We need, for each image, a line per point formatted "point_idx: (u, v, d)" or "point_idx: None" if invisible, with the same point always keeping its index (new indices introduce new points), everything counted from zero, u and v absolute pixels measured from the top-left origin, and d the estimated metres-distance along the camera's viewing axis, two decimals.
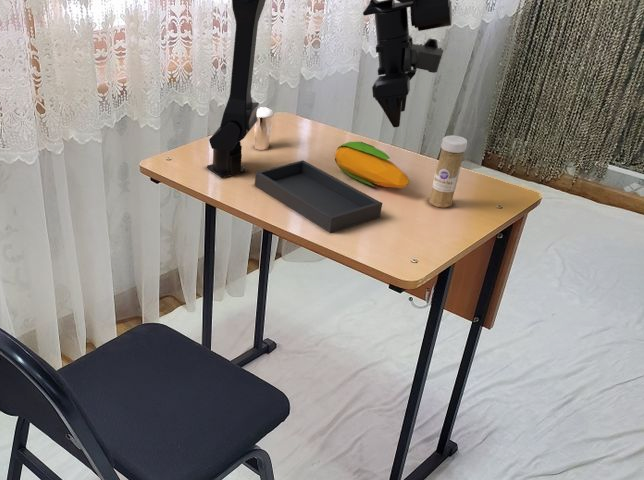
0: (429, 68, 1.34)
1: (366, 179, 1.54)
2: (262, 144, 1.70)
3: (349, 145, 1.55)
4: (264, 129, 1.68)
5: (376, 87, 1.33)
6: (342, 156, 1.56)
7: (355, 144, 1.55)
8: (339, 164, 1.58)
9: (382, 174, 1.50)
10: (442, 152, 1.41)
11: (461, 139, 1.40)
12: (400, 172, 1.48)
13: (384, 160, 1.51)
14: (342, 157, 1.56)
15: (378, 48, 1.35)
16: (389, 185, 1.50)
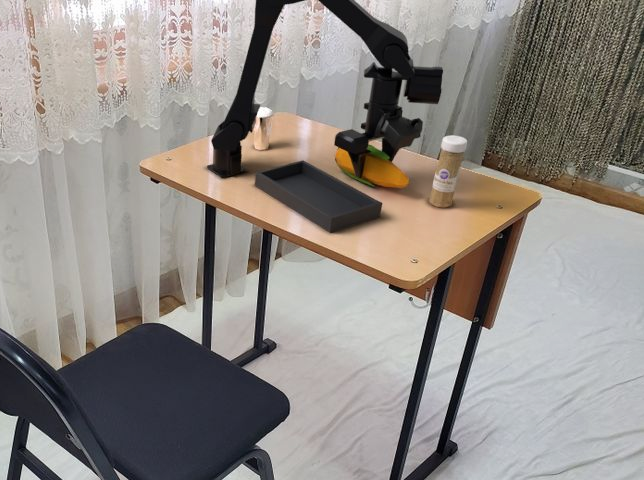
0: (391, 143, 1.44)
1: (366, 179, 1.54)
2: (262, 144, 1.70)
3: None
4: (264, 129, 1.68)
5: (336, 136, 1.48)
6: (342, 156, 1.56)
7: None
8: (339, 164, 1.58)
9: (382, 174, 1.50)
10: (442, 152, 1.41)
11: (461, 139, 1.40)
12: (400, 172, 1.48)
13: (384, 160, 1.51)
14: (342, 157, 1.56)
15: (365, 105, 1.47)
16: (389, 185, 1.50)
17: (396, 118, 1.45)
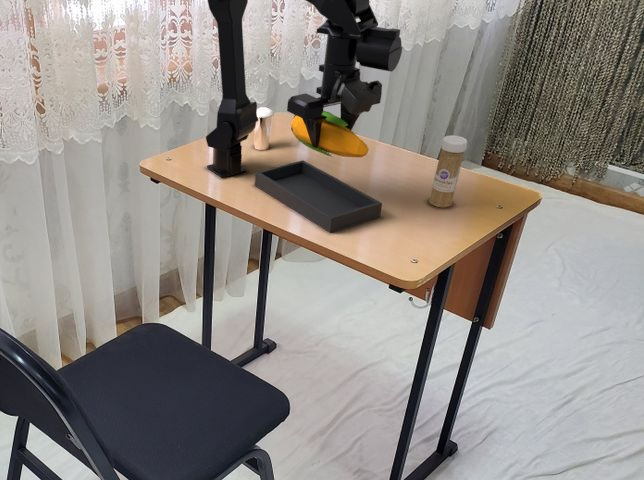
0: (348, 107, 1.33)
1: (323, 149, 1.42)
2: (262, 144, 1.70)
3: None
4: (264, 129, 1.68)
5: (288, 101, 1.36)
6: (298, 125, 1.44)
7: None
8: (295, 133, 1.46)
9: (339, 142, 1.38)
10: (442, 152, 1.41)
11: (461, 139, 1.40)
12: (359, 140, 1.36)
13: (342, 127, 1.39)
14: (298, 125, 1.44)
15: (320, 67, 1.36)
16: (347, 155, 1.38)
17: (353, 81, 1.33)
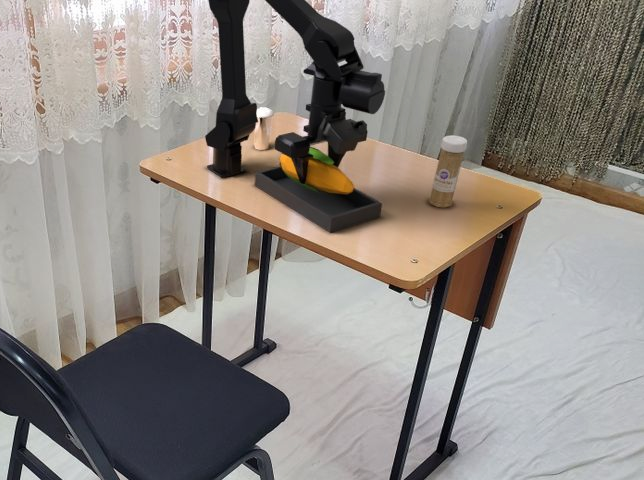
0: (334, 147, 1.36)
1: (311, 185, 1.45)
2: (262, 144, 1.70)
3: None
4: (264, 129, 1.68)
5: (276, 140, 1.39)
6: (286, 161, 1.48)
7: None
8: (284, 169, 1.49)
9: (326, 180, 1.41)
10: (442, 152, 1.41)
11: (461, 139, 1.40)
12: (344, 178, 1.39)
13: (329, 165, 1.42)
14: (286, 161, 1.48)
15: (307, 106, 1.39)
16: (334, 191, 1.42)
17: (339, 120, 1.37)
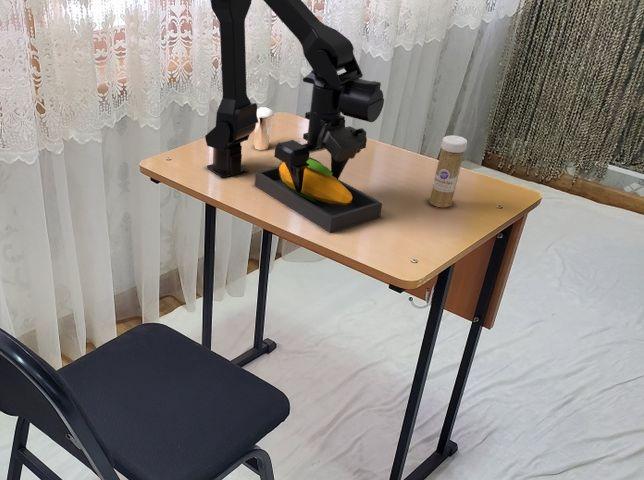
0: (333, 155, 1.37)
1: (309, 195, 1.46)
2: (262, 144, 1.70)
3: None
4: (264, 129, 1.68)
5: (275, 148, 1.40)
6: (285, 171, 1.49)
7: None
8: (283, 179, 1.51)
9: (324, 190, 1.42)
10: (442, 152, 1.41)
11: (461, 139, 1.40)
12: (343, 189, 1.41)
13: (327, 176, 1.43)
14: (285, 172, 1.49)
15: (307, 115, 1.40)
16: (332, 202, 1.43)
17: (338, 128, 1.37)
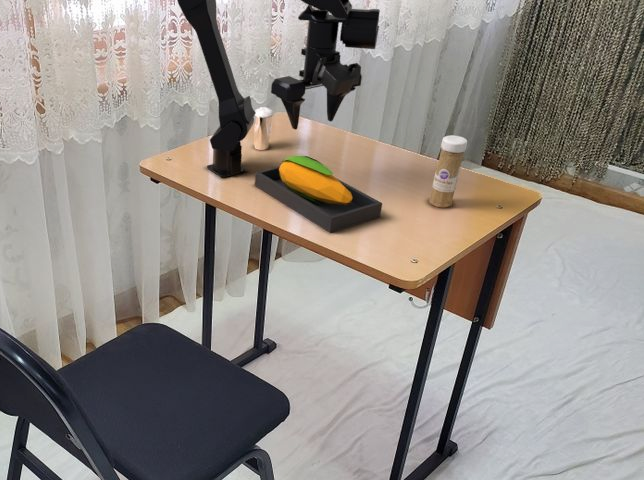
0: (328, 88, 1.39)
1: (309, 195, 1.46)
2: (262, 144, 1.70)
3: (292, 159, 1.48)
4: (264, 129, 1.68)
5: (272, 83, 1.43)
6: (285, 171, 1.49)
7: (298, 158, 1.47)
8: (283, 179, 1.51)
9: (324, 190, 1.42)
10: (442, 152, 1.41)
11: (461, 139, 1.40)
12: (343, 188, 1.41)
13: (327, 176, 1.43)
14: (285, 172, 1.49)
15: (302, 51, 1.42)
16: (332, 202, 1.43)
17: (333, 63, 1.40)
